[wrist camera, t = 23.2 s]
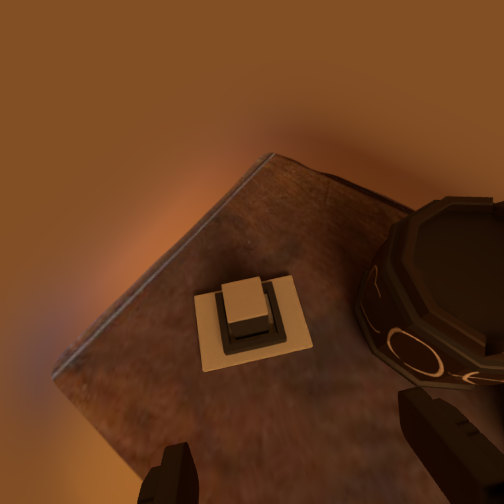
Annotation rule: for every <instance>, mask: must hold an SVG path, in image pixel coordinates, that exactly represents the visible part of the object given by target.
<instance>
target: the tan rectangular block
mask: <svg viewBox="0 0 504 504" xmlns="http://www.w3.org/2000/svg"><path fill="white" fill-rule="evenodd" d="M222 291H223V297H224V303H225V309H226V315H227V321H228V324H229V326H230V328H231V330H232V332H233V334H234V337H235V339H236V340H239V339H243V338H248V337H252V336H257V335H261V334H265V333H269V316H268V309H267V305H266V301H265V297H264V293H263V288H262V284H261V280H260V277H254V278H250V279H245V280H240V281H236V282H231V283H226V284H222Z"/></svg>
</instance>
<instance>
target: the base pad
mask: <svg viewBox="0 0 504 504" xmlns="http://www.w3.org/2000/svg"><path fill="white" fill-rule="evenodd" d="M261 284H262V288H263V293H264V297H265V301H266V305H267V309H268V316H269V333H265V334H261V335H257V336H252V337H248V338H243V339H239V340H236V339H235V337H234V334H233V332H232V330H231V328H230V326H229V324H228V321H227V315H226V309H225V303H224V297H223V291H222V290H221V291H216V292H212V293H207V294H203V295H198V296H194V300H195V308H196V317H197V325H198V334H199V343H200V351H201V360H202V368H203V371H204V372H208V371H212V370H216V369H221V368H225V367H229V366H234V365H238V364H242V363H247V362H251V361H255V360H260V359H264V358H268V357H273V356H277V355H281V354H286V353H290V352H294V351H299V350H303V349H307V348H311V347H312V346H313V344H312V341H311V338H310V334H309V331H308V328H307V325H306V321H305V318H304V315H303V311H302V308H301V305H300V302H299V298H298V295H297V292H296V289H295V285H294V282H293V279H292V276H291V275H289V276H285V277H280V278H276V279H271V280H267V281H262V282H261Z"/></svg>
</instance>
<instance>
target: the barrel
mask: <svg viewBox="0 0 504 504" xmlns="http://www.w3.org/2000/svg"><path fill="white" fill-rule="evenodd" d="M354 312H355V315H356V317H357V319H358V322H359V324H360V327H361V329H362V331H363V334H364V336H365V338H366V341H367V343H368V346H369V348H370V350H371V353H372V354H374V355H375V356H376V357H378V358H379V359H380V360H382V361H383V362H384V363H386V364H387V365H388V366H390V367H391V368H392V369H394V370H395V371H396V372H398V373H399V374H400V375H402V376H403V377H404V378H406V379H407V380H408V381H410V382H411V383H412V384H414V385H415V386H420V387H431V388H443V389H454V390H466V391H471V390H472V389H474V388H475V387H476V386H477V385H497V384H503V383H504V201H503V202H499V203H493V198H492V197H451V196H446V197H445V198H443V199H442V200H433V201H432V202H430V203H428V204H427V205H425V206H423V207H422V208H420V209H418V210H417V211H415V212H413V213H412V214H410V215H408V216H407V217H405V218H403V219H402V220H400V221H398V222H397V223H395V224H394V225H392V226H391V228H390V232H389V236H388V239H387V240H386V241H385V242H384V243H383V244H382V245H381V247H380V249H379V250H378V252H377V254H376V255H375V257H374V259H373V261H372V264H371V266H370V268H369V269H368V270H366V271H364V273H363V276H362V280H361V284H360V287H359V291H358V295H357V298H356V302H355V306H354Z"/></svg>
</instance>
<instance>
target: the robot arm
mask: <svg viewBox="0 0 504 504" xmlns="http://www.w3.org/2000/svg"><path fill="white" fill-rule="evenodd" d="M398 403H399V416H400V425H401V429H402V432H403V434H404V437H405V438H406V440H407V442H408V443H409V445H410V446H411V448H412V449H413V451H414V452H415V453H416V455H417V456H418V458H419V459H420V461H421V462H422V463H423V465H424V466H425V468H426V469H427V471H428V472H429V473H430V475H431V476H432V478H433V479H434V481H435V482H436V483H437V485H438V486H439V488H440V489H441V491H442V492H443V493H444V495H445V496H446V498H447V499H448V500H449V502H450V503H451V504H504V454H503V453H502V452H500V451H499V450H498V449H497V448H496V447H495V446H494V445H493V444H492V443H491V442H490V441H489V440H488V439H487V438H486V437H485V436H484V435H483V434H482V433H480V432H479V430H478V429H477V428H476V427H475V426H474V425H473V424H472V423H470V422H469V420H468V419H467V418H466V417H465V416H464V415H463V414H462V413H461V412H460V411H459V410H458V409H457V408H456V407H454V406H452V405H451V404H449V403H447V402H445V401H444V400H442V399H440V398H438V399H434V400H433V399H432V398H431V397H430V396H429V395H428V394H427V393H426V392H425V391H424V390H423V389H422V388H421V387H414V388H410V389H406V390H402V391H399V392H398ZM198 502H199V480H198V474H197V471H196V467H195V464H194V461H193V458H192V455H191V452H190V448H189V445H188V443H187V442H184V443H180V444H175V445H171V446H167V447H165V450H164V453H163V458H162V463H161V466H157V467H153V468H151V470H150V471H149V473H148V475H147V476H146V478H145V480H144V481H143V483H142V485H141V489H140V493H139V497H138V501H137V504H198Z"/></svg>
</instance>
